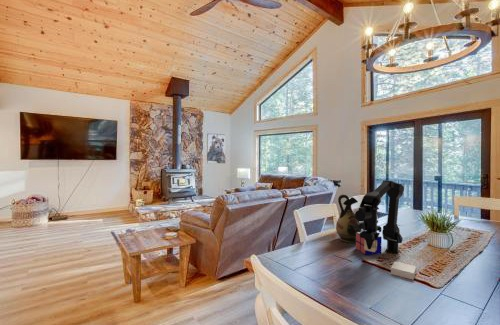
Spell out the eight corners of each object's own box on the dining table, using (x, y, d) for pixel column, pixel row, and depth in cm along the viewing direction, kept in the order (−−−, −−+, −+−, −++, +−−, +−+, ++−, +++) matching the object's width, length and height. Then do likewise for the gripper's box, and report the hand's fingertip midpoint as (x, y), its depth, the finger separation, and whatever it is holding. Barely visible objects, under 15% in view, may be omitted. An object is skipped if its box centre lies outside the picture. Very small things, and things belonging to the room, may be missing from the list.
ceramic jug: (356, 236, 173) (357, 193, 172) (364, 244, 158) (365, 197, 157) (331, 236, 175) (331, 192, 174) (336, 243, 160) (336, 196, 159)
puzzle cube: (365, 255, 142) (365, 237, 142) (355, 248, 152) (355, 232, 151) (381, 254, 143) (381, 236, 143) (370, 247, 153) (371, 231, 153)
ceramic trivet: (395, 267, 127) (395, 261, 127) (416, 272, 121) (416, 266, 121) (391, 273, 120) (391, 267, 120) (413, 279, 114) (413, 273, 114)
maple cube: (367, 247, 138) (367, 238, 138) (377, 249, 134) (377, 240, 134) (364, 249, 134) (364, 240, 134) (374, 252, 131) (374, 242, 131)
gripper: (360, 213, 146) (360, 239, 146) (349, 219, 132) (349, 249, 132) (381, 216, 139) (381, 244, 139) (372, 223, 125) (371, 254, 125)
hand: (370, 247), depth 134 cm, fingers closed on maple cube, 5 cm apart
